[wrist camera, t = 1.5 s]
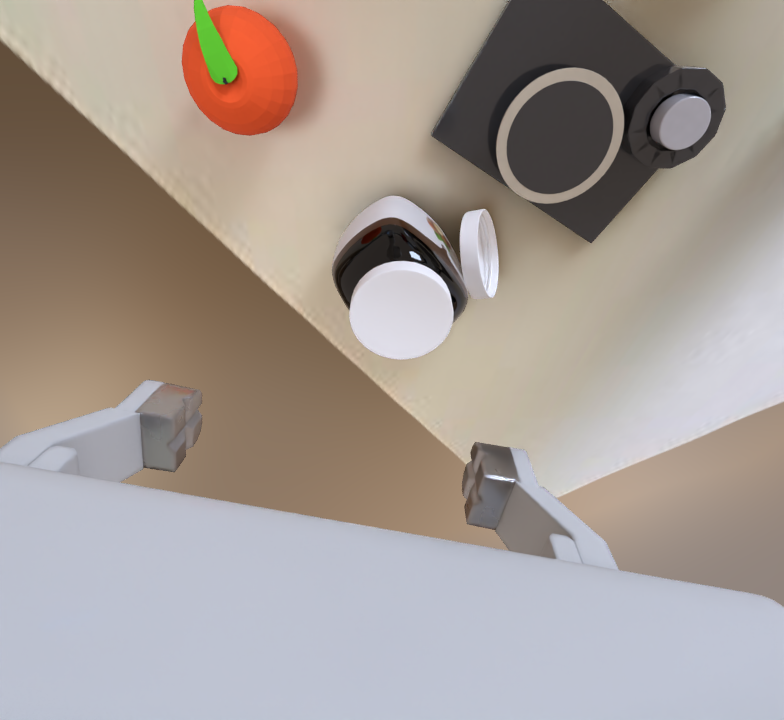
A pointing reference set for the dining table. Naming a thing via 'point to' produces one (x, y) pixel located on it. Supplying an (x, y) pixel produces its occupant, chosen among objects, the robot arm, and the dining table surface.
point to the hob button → (680, 121)
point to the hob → (588, 51)
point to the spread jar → (411, 275)
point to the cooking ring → (559, 135)
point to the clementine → (239, 69)
